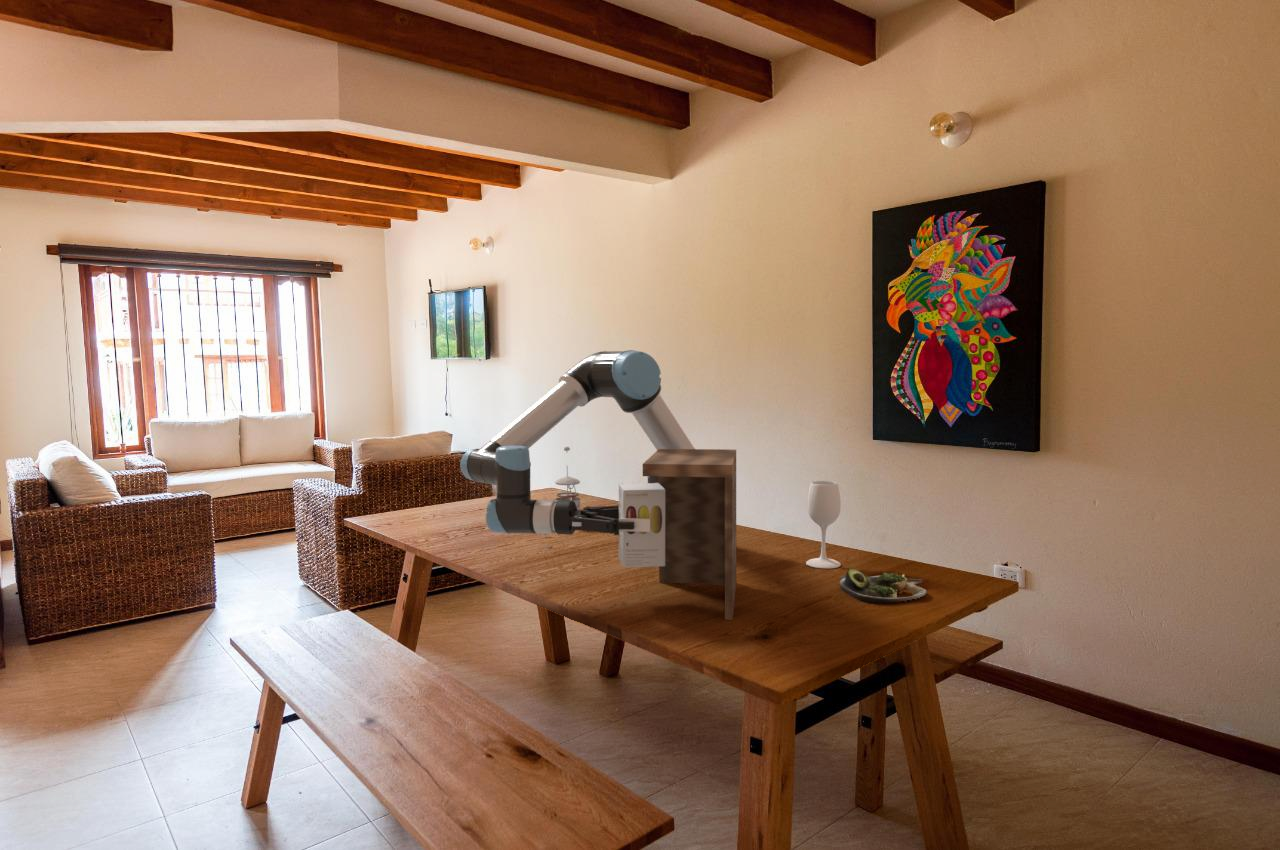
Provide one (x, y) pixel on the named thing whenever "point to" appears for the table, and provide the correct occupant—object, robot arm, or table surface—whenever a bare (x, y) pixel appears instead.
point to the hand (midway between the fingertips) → (654, 519)
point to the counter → (698, 516)
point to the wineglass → (823, 516)
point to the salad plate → (879, 587)
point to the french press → (568, 482)
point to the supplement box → (642, 545)
